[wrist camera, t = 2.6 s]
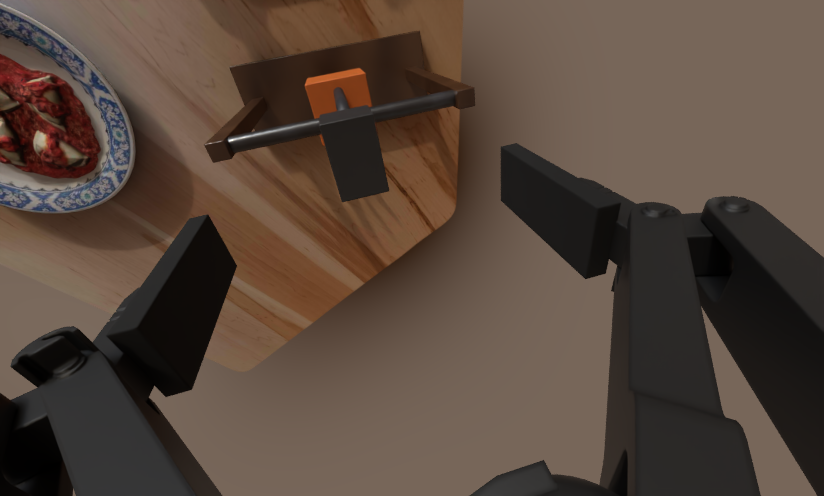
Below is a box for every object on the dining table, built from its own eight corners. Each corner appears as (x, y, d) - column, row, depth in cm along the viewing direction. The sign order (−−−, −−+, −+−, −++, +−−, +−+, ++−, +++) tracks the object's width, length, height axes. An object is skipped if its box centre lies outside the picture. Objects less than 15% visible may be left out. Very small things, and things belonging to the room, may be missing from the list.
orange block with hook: (359, 67, 38) (394, 99, 20) (371, 122, 41) (410, 193, 23) (306, 78, 38) (291, 121, 19) (323, 132, 41) (323, 214, 22)
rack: (417, 30, 48) (485, 29, 28) (426, 104, 54) (488, 148, 33) (231, 66, 45) (159, 92, 25) (261, 140, 51) (221, 209, 31)
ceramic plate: (135, 39, 42) (123, 39, 39) (147, 220, 54) (138, 229, 51) (-183, -55, 33) (-223, -62, 31) (-86, 187, 45) (-109, 195, 42)
